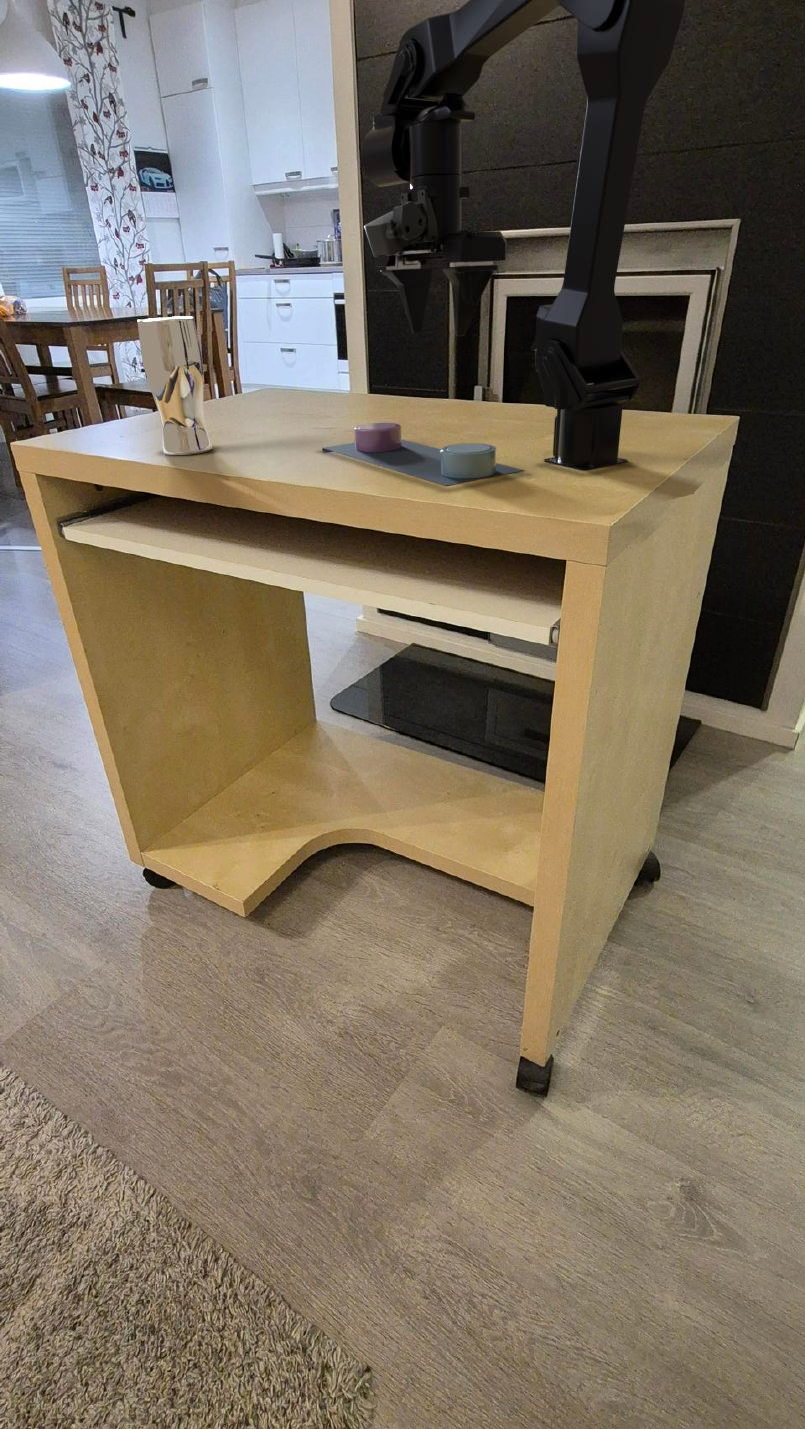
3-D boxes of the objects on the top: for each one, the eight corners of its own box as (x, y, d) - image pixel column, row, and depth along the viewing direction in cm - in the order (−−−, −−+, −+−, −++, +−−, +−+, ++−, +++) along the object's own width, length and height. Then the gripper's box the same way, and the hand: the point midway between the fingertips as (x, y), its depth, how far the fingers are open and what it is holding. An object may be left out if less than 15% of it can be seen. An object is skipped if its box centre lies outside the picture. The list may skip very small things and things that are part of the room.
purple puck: (410, 447, 92) (410, 426, 90) (370, 454, 89) (369, 432, 88) (386, 441, 96) (385, 420, 95) (346, 447, 93) (345, 426, 92)
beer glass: (201, 456, 95) (179, 319, 87) (149, 456, 96) (123, 321, 88) (224, 445, 100) (205, 316, 93) (175, 445, 102) (152, 318, 94)
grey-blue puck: (507, 473, 78) (507, 448, 77) (462, 481, 76) (462, 456, 75) (473, 464, 83) (473, 440, 81) (430, 472, 80) (430, 447, 79)
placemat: (524, 475, 79) (524, 470, 79) (445, 491, 75) (445, 485, 75) (391, 440, 99) (391, 436, 98) (322, 451, 94) (321, 447, 94)
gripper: (331, 186, 88) (342, 336, 96) (422, 165, 75) (426, 343, 82) (412, 187, 94) (416, 330, 101) (511, 168, 80) (507, 335, 88)
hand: (437, 334), depth 93 cm, fingers open, 9 cm apart
